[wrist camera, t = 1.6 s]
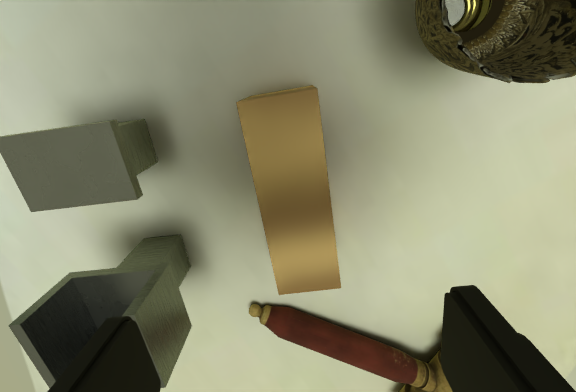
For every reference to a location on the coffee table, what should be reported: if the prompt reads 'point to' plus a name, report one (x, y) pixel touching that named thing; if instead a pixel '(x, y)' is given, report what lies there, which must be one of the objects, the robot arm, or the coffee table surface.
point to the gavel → (353, 348)
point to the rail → (292, 187)
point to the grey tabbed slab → (79, 163)
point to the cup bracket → (112, 309)
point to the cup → (503, 38)
